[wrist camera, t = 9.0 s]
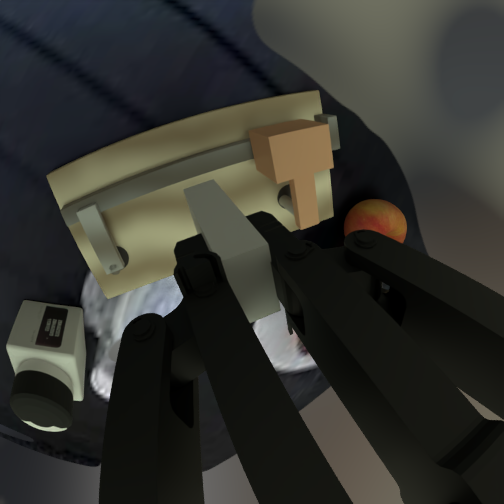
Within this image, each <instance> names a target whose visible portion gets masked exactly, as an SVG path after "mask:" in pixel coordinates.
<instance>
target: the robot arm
mask: <svg viewBox="0 0 504 504" xmlns="http://www.w3.org/2000/svg"><path fill="white" fill-rule="evenodd" d="M183 191H184V194H185V197H186V200H187V204H188V207H189V210H190V213H191V216H192V219H193V222H194V225H195V228H196V231H197V235H195V236H192V237H189V238H187V239H184V240H181V241H178V242H177V243H176V246H175V248H174V254H175V258H176V262H177V265H176V266H175V268H174V274H173V275H174V277H175V279H176V281H177V284H178V286H179V288H180V290H181V293H182V295H183V299H182V301H181V303H180V304H179V305H178V307H177V308H176V309H174V310H173V311H172V312H171V313H169V314H168V315H166V316H165V317H162V316H161V315H158V314H155V313H146V314H143V315H140V316H138V317H136V318H135V319H133V320H132V321H131V322H130V323H129V324H128V325H127V326H126V327H125V330H124V332H123V334H122V338H121V343H120V348H119V352H118V357H117V362H116V366H115V372H114V377H113V382H112V388H111V393H110V399H109V406H108V412H107V419H106V426H105V434H104V442H103V451H102V461H101V474H100V488H99V504H204V493H203V479H202V463H201V445H200V421H199V382H198V376H199V375H200V374H201V373H203V372H204V371H207V374H208V377H209V380H210V383H211V386H212V389H213V392H214V395H215V397H216V400H217V403H218V406H219V408H220V411H221V414H222V416H223V419H224V422H225V424H226V427H227V430H228V432H229V435H230V437H231V440H232V442H233V445H234V447H235V450H236V452H237V455H238V457H239V459H240V462H241V464H242V466H243V469H244V471H245V473H246V476H247V478H248V480H249V483H250V485H251V487H252V489H253V491H254V494H255V496H256V498H257V500H258V502H259V504H353V502H352V501H351V499H350V498H349V496H348V494H347V493H346V491H345V490H344V488H343V486H342V485H341V483H340V481H339V480H338V478H337V477H336V475H335V473H334V472H333V470H332V468H331V467H330V465H329V463H328V462H327V460H326V458H325V457H324V455H323V453H322V452H321V450H320V448H319V446H318V445H317V443H316V441H315V440H314V438H313V436H312V435H311V433H310V431H309V429H308V428H307V426H306V424H305V422H304V421H303V419H302V417H301V415H300V414H299V412H298V410H297V408H296V407H295V405H294V403H293V401H292V400H291V398H290V396H289V394H288V392H287V391H286V389H285V387H284V385H283V383H282V382H281V380H280V378H279V376H278V374H277V373H276V371H275V369H274V367H273V365H272V363H271V362H270V360H269V358H268V356H267V354H266V352H265V351H264V349H263V347H262V345H261V343H260V341H259V339H258V338H257V336H256V334H255V332H254V330H253V328H252V326H251V324H250V323H251V322H254V321H256V320H259V319H261V318H263V317H266V316H268V315H270V314H273V313H275V312H278V311H280V310H281V309H280V303H279V300H280V302H281V303H282V305H283V306H284V308H285V313H286V319H287V325H288V330H289V333H290V335H291V334H293V330H292V328H293V329H294V331H295V332H296V334H297V335H298V337H299V338H300V340H301V341H302V343H303V344H304V346H305V347H306V349H307V350H308V352H309V353H310V355H311V356H312V358H313V359H314V361H315V362H316V364H317V365H318V367H319V368H320V370H321V371H322V373H323V374H324V376H325V377H326V379H327V380H328V382H329V383H330V385H331V386H332V388H333V389H334V391H335V392H336V394H337V395H338V397H339V398H340V400H341V401H342V403H343V404H344V406H345V407H346V409H347V410H348V412H349V413H350V414H351V416H352V418H353V419H354V421H355V422H356V423H357V425H358V427H359V428H360V429H361V431H362V432H363V434H364V435H365V437H366V438H367V440H368V441H369V443H370V444H371V446H372V447H373V449H374V450H375V452H376V453H377V455H378V456H379V457H380V459H381V460H382V462H383V463H384V465H385V466H386V468H387V469H388V471H389V472H390V474H391V475H392V477H393V478H394V479H395V481H396V482H397V484H398V486H399V488H400V495H401V498H402V501H403V502H404V504H504V421H501V420H488V419H486V418H484V417H483V416H482V415H481V414H480V413H479V412H478V411H477V410H476V409H475V407H474V406H473V405H472V404H471V403H470V402H469V401H468V399H467V398H466V397H465V396H464V395H463V394H462V393H461V392H460V390H459V389H461V390H462V391H463V392H465V393H466V394H468V395H469V396H471V397H472V398H474V399H475V400H477V401H478V402H479V403H481V404H482V405H484V406H485V407H486V408H488V409H489V410H491V411H492V412H493V413H495V414H496V415H498V416H499V417H501V418H502V419H504V297H503V296H502V295H500V294H498V293H497V292H495V291H493V290H491V289H489V288H488V287H486V286H484V285H482V284H481V283H479V282H477V281H475V280H473V279H471V278H469V277H468V276H466V275H464V274H462V273H460V272H458V271H457V270H454V269H453V268H451V267H449V266H447V265H445V264H443V263H441V262H439V261H437V260H435V259H433V258H431V257H429V256H427V255H425V254H423V253H421V252H419V251H417V250H415V249H413V248H411V247H409V246H407V245H405V244H403V243H400V242H398V241H396V240H394V239H392V238H390V237H388V236H385V235H383V234H381V233H379V232H376V231H373V230H366V229H361V230H355V231H353V232H351V233H349V234H348V235H347V236H346V237H345V240H344V246H343V247H337V248H331V249H321V248H320V247H319V246H318V245H316V244H314V243H313V242H310V241H306V240H298V239H297V238H296V237H295V236H294V235H293V234H292V233H291V232H290V231H289V230H288V229H287V228H286V227H285V226H283V224H282V223H281V222H279V221H278V220H277V219H276V218H275V217H274V216H273V215H272V214H270V213H267V212H264V211H259V212H256V213H253V214H250V215H248V216H244V214H243V213H242V212H241V211H240V210H239V209H238V207H237V206H236V205H235V204H234V203H233V202H232V200H231V199H230V198H229V197H228V196H227V195H226V193H225V192H224V191H223V190H222V189H221V188H220V186H219V185H218V184H217V183H216V182H215V181H214V179H212V180H209V181H206V182H203V183H200V184H197V185H194V186H191V187H188V188H186V189H183ZM382 282H384V283H385V284H387V285H389V286H390V289H389V290H386V289H384V288H382ZM457 387H458V388H459V389H458V388H457Z"/></svg>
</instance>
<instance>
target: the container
mask: <svg viewBox="0 0 504 504" xmlns="http://www.w3.org/2000/svg"><path fill="white" fill-rule="evenodd" d="M6 348H7V351H8V354H9V357H10V360H11V363H12V365H13V368H14V371H15V373H16V374H15V378H14V383H13V387H12V392H11V397H10V405H11V408H12V409H13V411H14V413H15V414H16V415H17V416H18V417H19V418H20V419H21V420H22V421H24V422H25V423H27V424H29V425H31V426H33V427H35V428H37V429H40V430H45V431H63V430H65V429H67V428H68V427H69V426H71V424H72V418H73V400H77V401H82V400H83V394H84V375H85V361H86V347H85V336H84V322H83V310H82V308H79V307H71V306H63V305H56V304H49V303H42V302H35V301H29V300H24V301H23V303H22V305H21V307H20V310H19V312H18V315H17V317H16V320H15V322H14V325H13V328H12V330H11V333H10V336H9V339H8V342H7V345H6Z"/></svg>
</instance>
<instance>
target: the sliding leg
mask: <svg viewBox="0 0 504 504" xmlns="http://www.w3.org/2000/svg"><path fill="white" fill-rule="evenodd" d="M248 132H249V137H250V141H251V146H252V151H253V155H254V160H255V165H256V170H257V171H259V172H260V173H262V174H263V175H265V176H266V177H268V178H269V179H271V180H272V181H273V182H275V183H276V184H279V183H282V182H285V181H289V184H290V191H291V197H292V199H291V198H290V197H288V196H287V195H283V196H281V197H280V199H279V203H280V205H282V206H283V207H284V208H285V209H286V210H288V211H289V212H290V213H291V214H292V215H294V217H295V224H296V226H297V227H298V228H299V229H300V230H302V229H305V228H308V227H311V226H313V225H316V224H319V215H318V205H317V196H316V187H315V179H314V173H316V172H320V171H323V170H327V169H330V168H334V166H333V157H332V148H331V139H330V131H329V124H326V123H321V122H316V121H311V120H305V119H297V120H292V121H288V122H283V123H278V124H274V125H270V126H265V127H261V128H257V129H253V130H249V131H248Z"/></svg>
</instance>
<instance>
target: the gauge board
mask: <svg viewBox="0 0 504 504" xmlns="http://www.w3.org/2000/svg"><path fill="white" fill-rule="evenodd" d="M297 119H305V120H311V121H316V122H321V123H326V124H329V131H330V139H331V148H332V150H336V149H340V142H339V134H338V125H337V117H336V116H334V115H328V114H322V108H321V101H320V95H319V91H318V90H312V91H305V92H298V93H292V94H286V95H280V96H275V97H269V98H264V99H259V100H254V101H250V102H245V103H241V104H236V105H232V106H228V107H224V108H220V109H216V110H212V111H209V112H205V113H201V114H198V115H194V116H191V117H187V118H184V119H181V120H178V121H174V122H171V123H168V124H165V125H162V126H159V127H156V128H153V129H150V130H148V131H145V132H142V133H139V134H137V135H134V136H131V137H129V138H126V139H123V140H121V141H118V142H116V143H113V144H111V145H108V146H106V147H104V148H101V149H99V150H97V151H94V152H92V153H90V154H88V155H85V156H83V157H81V158H79V159H77V160H75V161H72V162H70V163H68V164H66V165H64V166H62V167H60V168H58V169H56V170H54V171H52V172H50V173H49V174H48V175H47V179H48V181H49V184H50V186H51V189H52V191H53V194H54V196H55V198H56V201H57V203H58V205H59V207H60V212H61V214H62V216H63V218H64V221H65V223H66V225H67V227H69V229H70V231H71V233H72V235H73V237H74V239H75V241H76V243H77V245H78V247H79V249H80V251H81V253H82V255H83V257H84V259H85V260H86V262H87V264H88V266H89V268H90V270H91V271H92V273H93V275H94V277H95V278H96V280H97V282H98V284H99V285H100V287H101V289H102V290H103V292H104V294H105V296H106V297H107V299H109V298H112V297H115V296H117V295H120V294H123V293H125V292H128V291H131V290H133V289H136V288H139V287H142V286H144V285H147V284H150V283H152V282H155V281H158V280H160V279H163V278H166V277H169V276H171V275H173V274H174V268H175V266H176V265H177V262H176V258H175V254H174V248H175V246H176V243H177V242H178V241H181V240H184V239H187V238H189V237H192V236H195V235H197V231H196V228H195V225H194V222H193V219H192V216H191V213H190V210H189V207H188V204H187V200H186V197H185V194H184V191H183V189H186V188H188V187H191V186H194V185H197V184H200V183H203V182H206V181H209V180H212V179H214V181H215V182H216V183H217V184H218V185H219V186H220V188H221V189H222V190H223V191H224V192H225V193H226V195H227V196H228V197H229V198H230V199H231V200H232V202H233V203H234V204H235V205H236V206H237V207H238V209H239V210H240V211H241V212H242V213H243V214H244V216H248V215H250V214H253V213H256V212H259V211H264V212H267V213H270V214H272V215H273V216H274V217H275V218H276V219H277V220H278V221H279V222H281V223H282V224H283V226H285V227H286V228H287V229H288V230H289V231H290V232H292V231H295V230H297V229H299V228H298V227H297V226H296V224H295V217H294V215H292V214H291V213H290V212H289V211H288V210H286V209H285V208H284V207H283V206H282V205H280V203H279V199H280V197H281V196H283V195H287V196H288V197H290V198H291V199H292V197H291V191H290V184H289V181H285V182H282V183H279V184H276V183H275V182H273V181H272V180H271V179H269V178H268V177H266V176H265V175H263V174H262V173H260V172H259V171H257V170H256V165H255V160H254V155H253V151H252V146H251V141H250V137H249V132H248V131H249V130H253V129H257V128H261V127H265V126H270V125H274V124H278V123H283V122H288V121H292V120H297ZM314 179H315V187H316V196H317V205H318V215H319V222H320V221H322V220H325V219H328V218H331V217H333V203H332V191H331V180H330V170H329V169H327V170H323V171H320V172H316V173H314Z"/></svg>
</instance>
